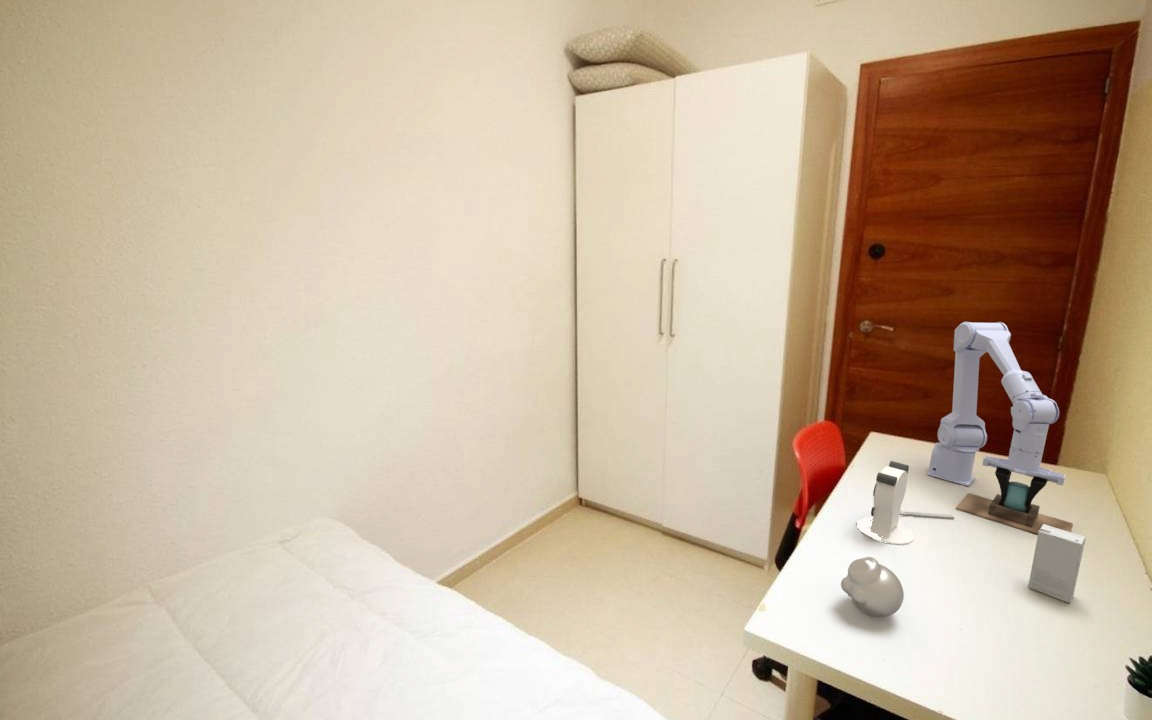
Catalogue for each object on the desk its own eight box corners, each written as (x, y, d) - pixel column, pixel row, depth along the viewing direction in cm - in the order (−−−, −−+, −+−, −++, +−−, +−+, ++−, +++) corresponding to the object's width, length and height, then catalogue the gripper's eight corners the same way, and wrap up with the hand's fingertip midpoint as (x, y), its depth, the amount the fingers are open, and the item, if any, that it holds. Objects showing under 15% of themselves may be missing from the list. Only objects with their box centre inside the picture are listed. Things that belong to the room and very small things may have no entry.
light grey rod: (950, 518, 122) (951, 514, 122) (953, 521, 121) (954, 517, 121) (894, 514, 124) (895, 511, 124) (897, 517, 123) (897, 513, 123)
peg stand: (955, 509, 126) (957, 497, 125) (967, 494, 134) (969, 483, 133) (1065, 543, 111) (1068, 531, 111) (1072, 524, 119) (1075, 513, 118)
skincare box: (1074, 594, 95) (1088, 536, 92) (1069, 605, 92) (1084, 545, 89) (1030, 578, 99) (1043, 522, 97) (1025, 587, 97) (1038, 530, 94)
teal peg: (1001, 511, 122) (1006, 484, 121) (1004, 506, 125) (1010, 480, 123) (1022, 518, 119) (1028, 490, 118) (1025, 512, 122) (1031, 485, 121)
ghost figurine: (840, 587, 97) (846, 540, 94) (899, 605, 92) (907, 555, 90) (836, 616, 89) (843, 565, 87) (900, 637, 84) (909, 583, 82)
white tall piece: (866, 511, 124) (874, 454, 121) (920, 530, 116) (930, 469, 113) (849, 530, 116) (857, 469, 113) (906, 551, 108) (917, 486, 105)
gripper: (983, 443, 121) (973, 496, 124) (1067, 463, 111) (1053, 519, 114) (990, 437, 126) (980, 487, 129) (1071, 454, 115) (1058, 509, 118)
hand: (1015, 502), depth 122 cm, fingers closed on teal peg, 4 cm apart
